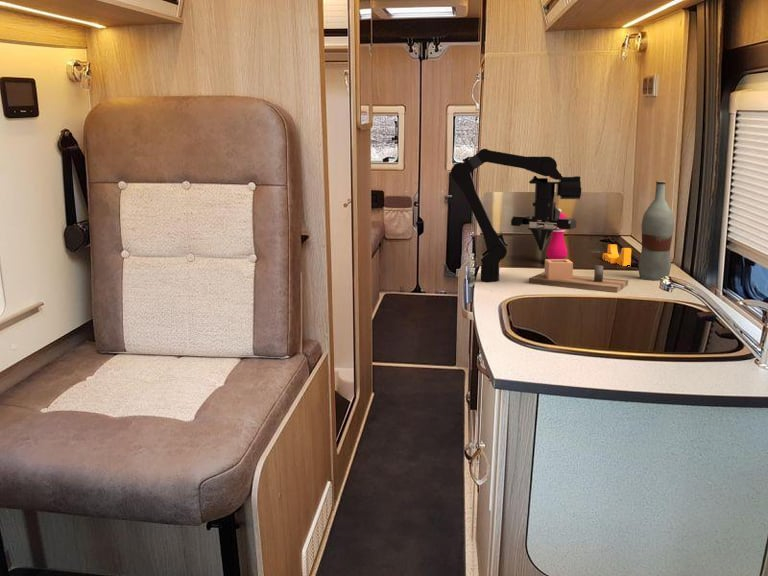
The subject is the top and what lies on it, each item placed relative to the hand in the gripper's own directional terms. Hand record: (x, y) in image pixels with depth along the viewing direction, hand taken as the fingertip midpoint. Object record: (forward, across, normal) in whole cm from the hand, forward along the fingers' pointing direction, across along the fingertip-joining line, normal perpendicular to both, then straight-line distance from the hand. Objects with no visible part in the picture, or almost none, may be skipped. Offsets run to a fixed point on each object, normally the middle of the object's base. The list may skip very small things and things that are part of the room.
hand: (541, 250), depth 190 cm
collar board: (+9, -11, -2) cm, 15 cm away
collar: (+8, -5, -2) cm, 10 cm away
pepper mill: (+10, +6, -31) cm, 33 cm away
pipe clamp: (+10, -10, -45) cm, 47 cm away
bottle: (+9, -28, -24) cm, 38 cm away
